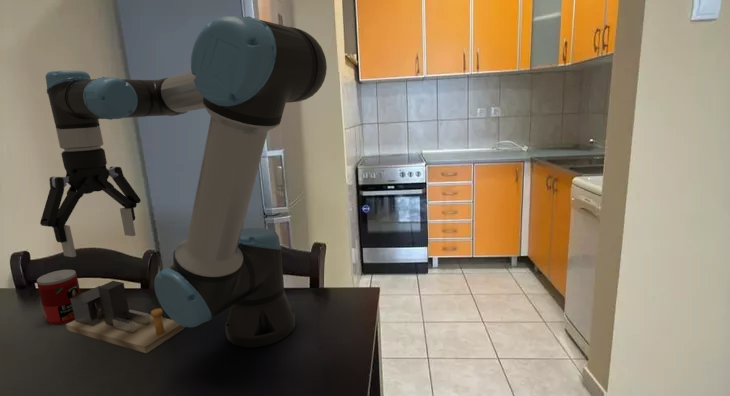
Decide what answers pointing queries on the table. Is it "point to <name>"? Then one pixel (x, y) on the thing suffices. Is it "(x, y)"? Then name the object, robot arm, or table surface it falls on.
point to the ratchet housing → (86, 307)
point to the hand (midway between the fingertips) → (102, 245)
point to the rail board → (128, 333)
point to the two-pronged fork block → (119, 307)
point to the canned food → (58, 295)
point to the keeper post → (158, 320)
